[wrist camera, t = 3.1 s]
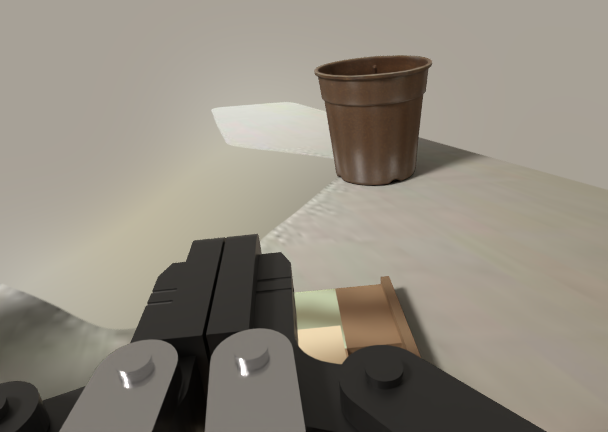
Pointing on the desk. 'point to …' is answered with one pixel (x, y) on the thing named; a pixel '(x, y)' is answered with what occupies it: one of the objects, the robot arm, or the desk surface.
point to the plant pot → (374, 115)
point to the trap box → (358, 315)
